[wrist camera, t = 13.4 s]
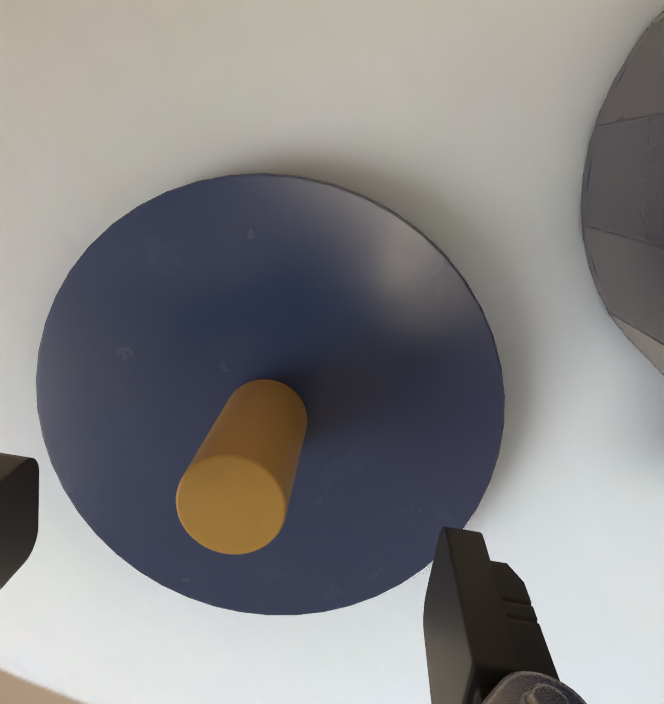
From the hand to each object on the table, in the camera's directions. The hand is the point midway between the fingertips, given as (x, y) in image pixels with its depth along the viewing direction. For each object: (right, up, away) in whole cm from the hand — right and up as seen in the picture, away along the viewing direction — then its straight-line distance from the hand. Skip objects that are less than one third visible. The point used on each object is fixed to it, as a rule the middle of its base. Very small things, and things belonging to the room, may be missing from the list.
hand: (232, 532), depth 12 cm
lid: (0, +2, +6) cm, 7 cm away
